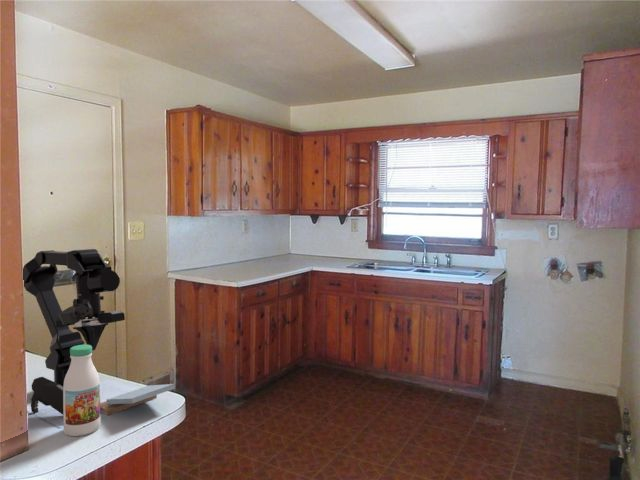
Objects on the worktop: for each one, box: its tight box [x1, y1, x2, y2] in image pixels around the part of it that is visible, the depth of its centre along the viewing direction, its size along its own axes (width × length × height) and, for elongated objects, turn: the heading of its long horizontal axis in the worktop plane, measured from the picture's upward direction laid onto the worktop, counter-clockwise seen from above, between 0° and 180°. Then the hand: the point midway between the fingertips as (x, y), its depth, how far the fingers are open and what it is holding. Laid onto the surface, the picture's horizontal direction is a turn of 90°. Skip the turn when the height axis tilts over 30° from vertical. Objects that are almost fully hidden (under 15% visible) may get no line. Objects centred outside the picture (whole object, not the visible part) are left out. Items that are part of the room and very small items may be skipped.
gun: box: [30, 376, 63, 415], centre depth 114 cm, size 3×16×10 cm, turn 79°
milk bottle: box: [62, 344, 101, 437], centre depth 106 cm, size 8×8×20 cm
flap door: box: [106, 383, 176, 405], centre depth 118 cm, size 2×12×13 cm
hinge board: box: [100, 395, 157, 416], centre depth 122 cm, size 6×14×1 cm, turn 144°
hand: (92, 350), depth 124 cm, fingers closed
